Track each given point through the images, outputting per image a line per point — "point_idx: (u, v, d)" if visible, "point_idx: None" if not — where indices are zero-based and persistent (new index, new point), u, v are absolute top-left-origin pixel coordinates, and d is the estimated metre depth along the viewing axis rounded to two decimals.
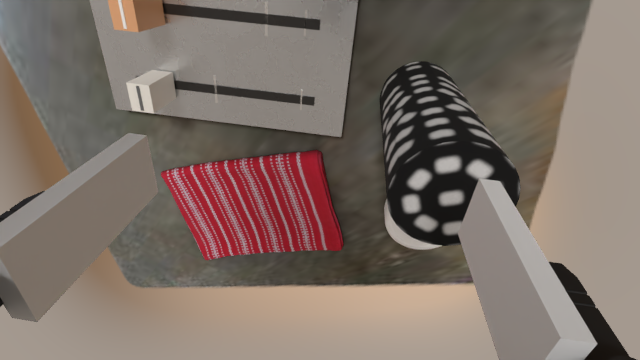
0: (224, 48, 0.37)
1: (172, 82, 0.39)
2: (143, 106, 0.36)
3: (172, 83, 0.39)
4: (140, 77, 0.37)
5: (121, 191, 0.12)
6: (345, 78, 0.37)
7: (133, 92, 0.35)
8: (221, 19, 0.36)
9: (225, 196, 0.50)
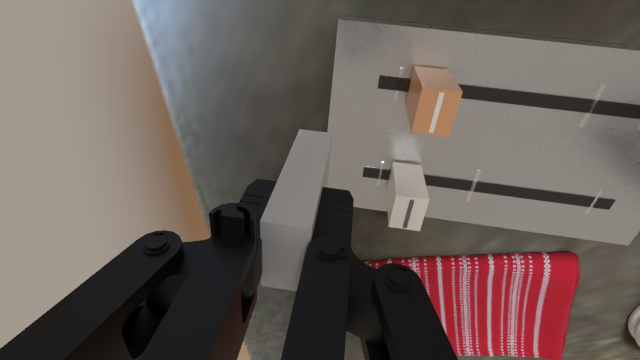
0: (509, 139, 0.27)
1: None
2: (408, 223, 0.26)
3: None
4: (399, 181, 0.27)
5: None
6: None
7: (401, 206, 0.26)
8: (521, 104, 0.26)
9: None
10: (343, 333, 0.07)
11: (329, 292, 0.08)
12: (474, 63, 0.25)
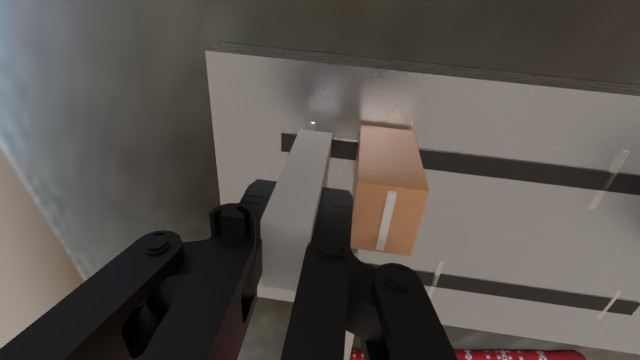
0: (483, 222, 0.18)
1: None
2: None
3: None
4: None
5: None
6: None
7: None
8: (498, 176, 0.17)
9: None
10: (343, 333, 0.07)
11: (329, 292, 0.08)
12: (422, 117, 0.16)
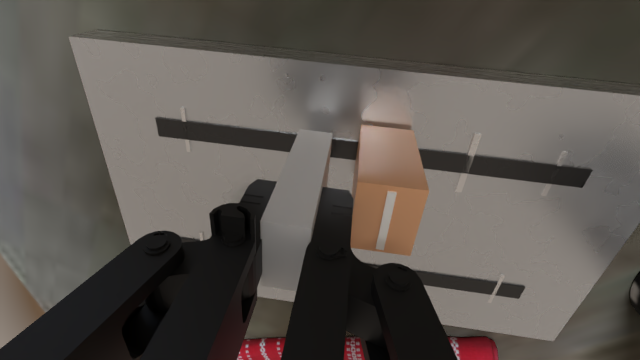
0: None
1: None
2: None
3: None
4: None
5: None
6: (603, 264, 0.19)
7: None
8: None
9: None
10: (343, 333, 0.07)
11: (329, 292, 0.08)
12: (283, 101, 0.16)
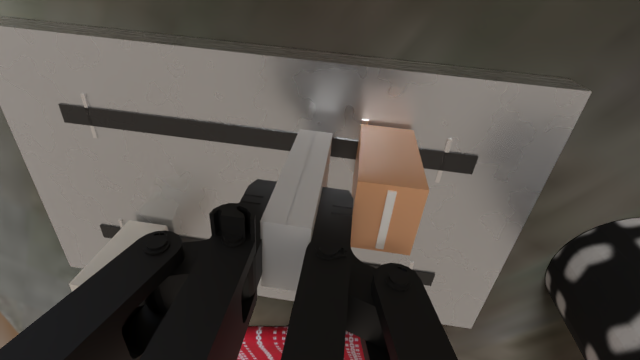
0: None
1: None
2: None
3: None
4: (102, 255, 0.18)
5: None
6: (505, 251, 0.19)
7: None
8: (264, 146, 0.17)
9: None
10: (343, 333, 0.07)
11: (329, 292, 0.08)
12: (177, 87, 0.16)
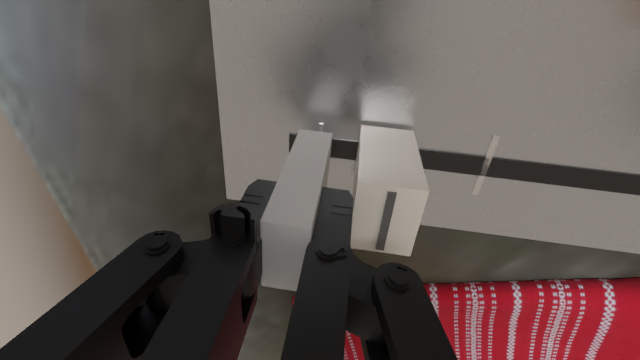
0: (558, 69, 0.14)
1: None
2: (386, 241, 0.13)
3: None
4: (368, 155, 0.13)
5: None
6: None
7: (370, 207, 0.12)
8: None
9: None
10: (343, 333, 0.07)
11: (329, 292, 0.08)
12: None
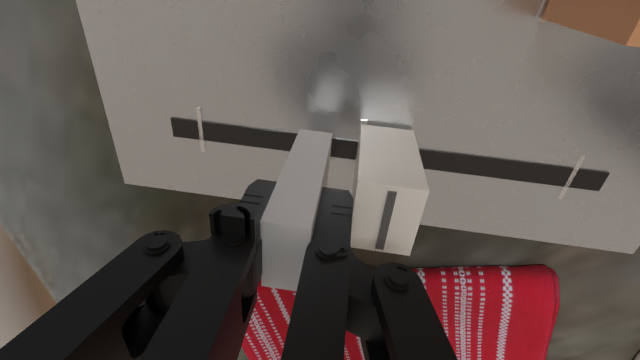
0: (408, 54, 0.14)
1: None
2: (386, 240, 0.13)
3: None
4: (368, 155, 0.13)
5: None
6: None
7: (370, 206, 0.12)
8: None
9: None
10: (343, 333, 0.07)
11: (329, 292, 0.08)
12: None
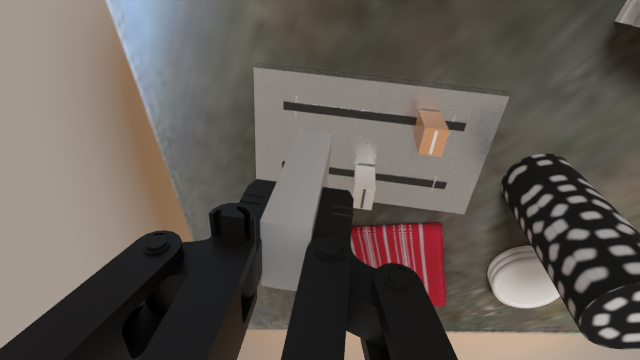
0: (371, 142, 0.42)
1: None
2: (363, 205, 0.40)
3: None
4: (357, 177, 0.41)
5: None
6: (479, 168, 0.42)
7: (358, 193, 0.40)
8: (373, 119, 0.40)
9: None
10: (343, 333, 0.07)
11: (329, 292, 0.08)
12: (340, 94, 0.39)
